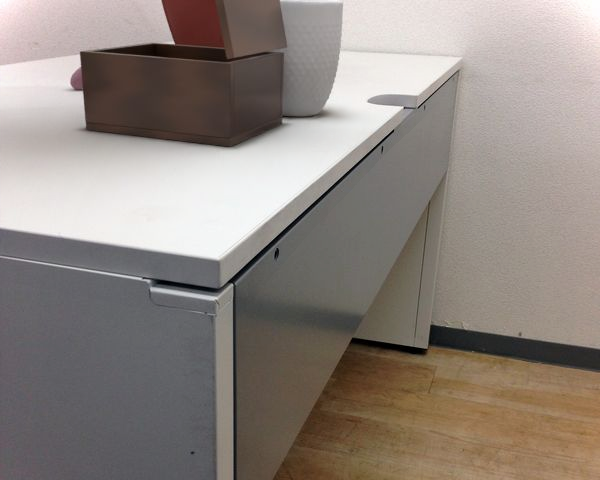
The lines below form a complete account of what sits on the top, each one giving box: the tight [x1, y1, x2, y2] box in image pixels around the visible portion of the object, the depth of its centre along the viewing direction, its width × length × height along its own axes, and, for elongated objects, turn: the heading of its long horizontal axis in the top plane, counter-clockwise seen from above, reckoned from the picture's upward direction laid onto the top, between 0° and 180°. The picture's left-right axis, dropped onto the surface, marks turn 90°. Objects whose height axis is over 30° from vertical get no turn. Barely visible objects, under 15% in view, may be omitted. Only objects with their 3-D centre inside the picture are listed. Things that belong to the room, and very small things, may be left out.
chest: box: [79, 42, 284, 148], centre depth 78 cm, size 17×14×8 cm
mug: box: [271, 0, 344, 118], centre depth 89 cm, size 15×11×13 cm
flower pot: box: [161, 0, 225, 48], centre depth 126 cm, size 19×19×17 cm
